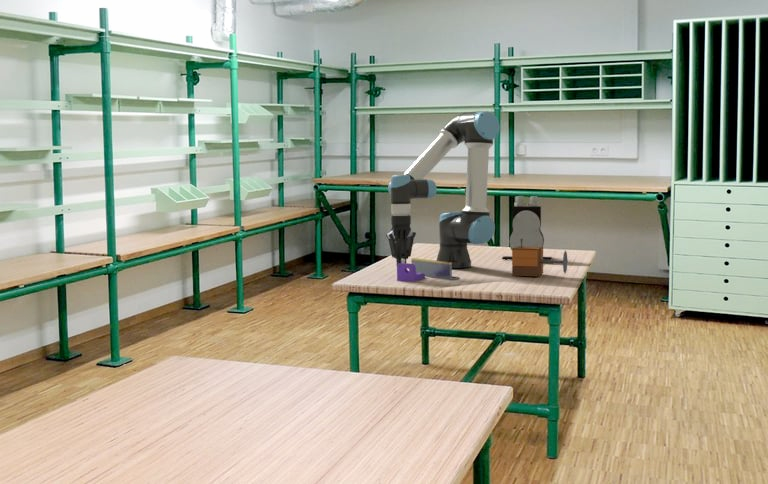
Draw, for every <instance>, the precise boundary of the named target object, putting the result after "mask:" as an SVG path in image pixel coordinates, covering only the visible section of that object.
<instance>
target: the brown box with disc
mask: <svg viewBox="0 0 768 484" xmlns="http://www.w3.org/2000/svg"><path fill="white" fill-rule="evenodd" d="M520 241H521V246H518V247H515V248H512V250H511V254H512V260H511V265H512V267H511V271H512V272H511V275H512V276H521V277H522V276H523V277H524V276H525V277H539V276H541V275H542V273H543V274H544V264H545V265H546V264H548V265H549V264H550V265H552V264H562V269H563V270H562V271H563V273H564V274H566V273H567V271H568V252H567V251H566V250H564V252H563V258H562V260H561V259H560V260H558V259H557V260H556V259H555V260H554V259H552V260H549V259H543V257H544V246H543V247H536V246H522V241H523V239H520Z"/></svg>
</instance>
